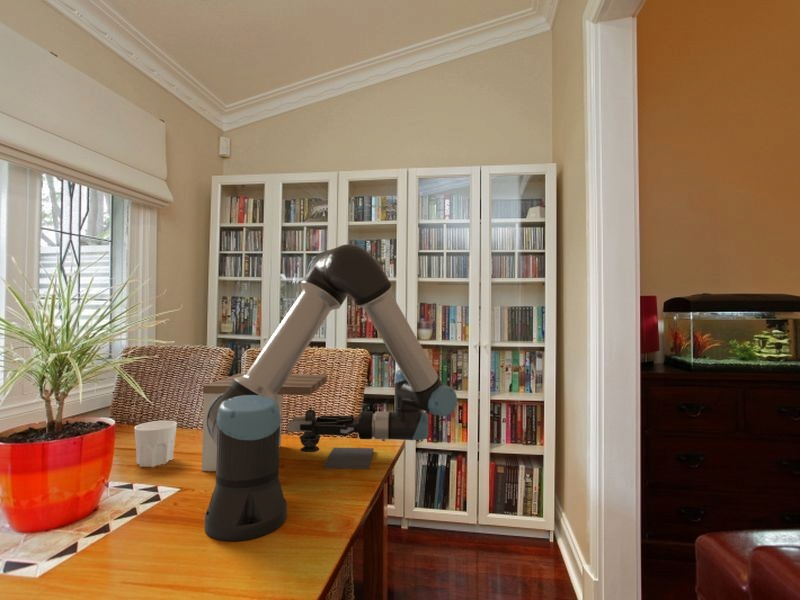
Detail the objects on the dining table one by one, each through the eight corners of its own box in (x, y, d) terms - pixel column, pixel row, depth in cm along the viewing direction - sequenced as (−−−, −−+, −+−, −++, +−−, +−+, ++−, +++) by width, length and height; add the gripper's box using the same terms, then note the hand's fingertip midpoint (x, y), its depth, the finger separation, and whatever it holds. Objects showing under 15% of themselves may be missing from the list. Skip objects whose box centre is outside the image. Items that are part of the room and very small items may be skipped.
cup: (129, 461, 112) (130, 425, 113) (169, 453, 119) (170, 418, 120) (138, 471, 105) (139, 432, 106) (180, 461, 112) (181, 425, 113)
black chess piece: (309, 445, 120) (310, 403, 121) (324, 448, 117) (325, 406, 118) (294, 450, 115) (295, 407, 116) (310, 454, 112) (311, 410, 113)
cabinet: (308, 473, 105) (310, 387, 106) (200, 471, 105) (203, 385, 106) (326, 446, 127) (327, 374, 128) (236, 444, 127) (238, 373, 128)
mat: (368, 469, 108) (369, 465, 108) (323, 468, 109) (323, 464, 109) (373, 451, 122) (373, 448, 122) (333, 450, 123) (333, 447, 123)
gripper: (370, 448, 108) (282, 446, 108) (375, 430, 124) (298, 429, 125) (371, 419, 108) (282, 418, 108) (376, 405, 124) (299, 404, 125)
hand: (291, 424), depth 116 cm, fingers closed on black chess piece, 4 cm apart
